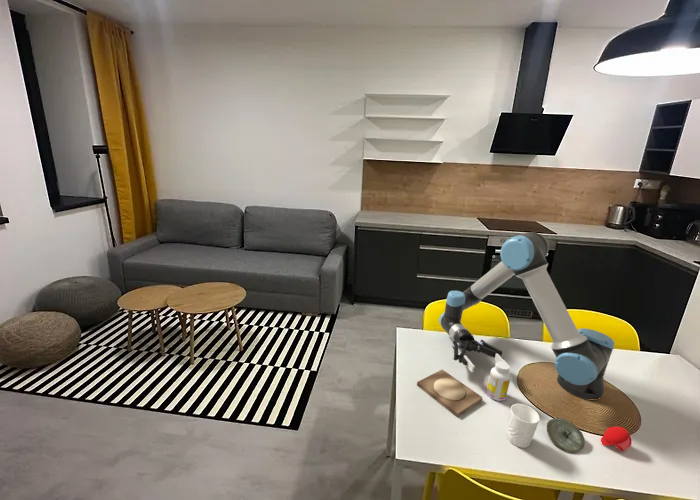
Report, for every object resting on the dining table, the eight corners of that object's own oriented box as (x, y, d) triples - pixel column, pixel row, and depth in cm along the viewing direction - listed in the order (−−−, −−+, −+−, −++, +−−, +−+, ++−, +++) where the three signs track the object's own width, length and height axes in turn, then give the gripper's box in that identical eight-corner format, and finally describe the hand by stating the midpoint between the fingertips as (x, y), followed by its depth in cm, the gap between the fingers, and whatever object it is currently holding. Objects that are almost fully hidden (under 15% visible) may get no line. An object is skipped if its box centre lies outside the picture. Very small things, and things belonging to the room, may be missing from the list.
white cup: (535, 452, 104) (543, 425, 101) (507, 446, 105) (514, 420, 102) (527, 431, 111) (535, 406, 108) (501, 426, 113) (508, 401, 109)
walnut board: (481, 400, 123) (482, 396, 123) (457, 417, 115) (458, 412, 114) (441, 372, 137) (442, 368, 136) (416, 385, 128) (417, 381, 128)
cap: (622, 428, 111) (607, 417, 111) (639, 438, 105) (623, 426, 105) (608, 449, 111) (593, 438, 111) (623, 460, 105) (608, 448, 105)
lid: (576, 431, 113) (580, 419, 111) (588, 457, 103) (593, 444, 102) (540, 424, 115) (544, 412, 113) (550, 449, 105) (554, 436, 104)
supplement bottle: (505, 392, 128) (513, 363, 124) (505, 404, 122) (513, 373, 118) (486, 386, 131) (493, 357, 127) (485, 397, 125) (492, 367, 121)
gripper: (486, 342, 153) (517, 374, 133) (433, 345, 148) (457, 379, 128) (489, 327, 150) (521, 357, 131) (435, 330, 145) (460, 361, 126)
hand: (489, 368), depth 129 cm, fingers open, 13 cm apart
